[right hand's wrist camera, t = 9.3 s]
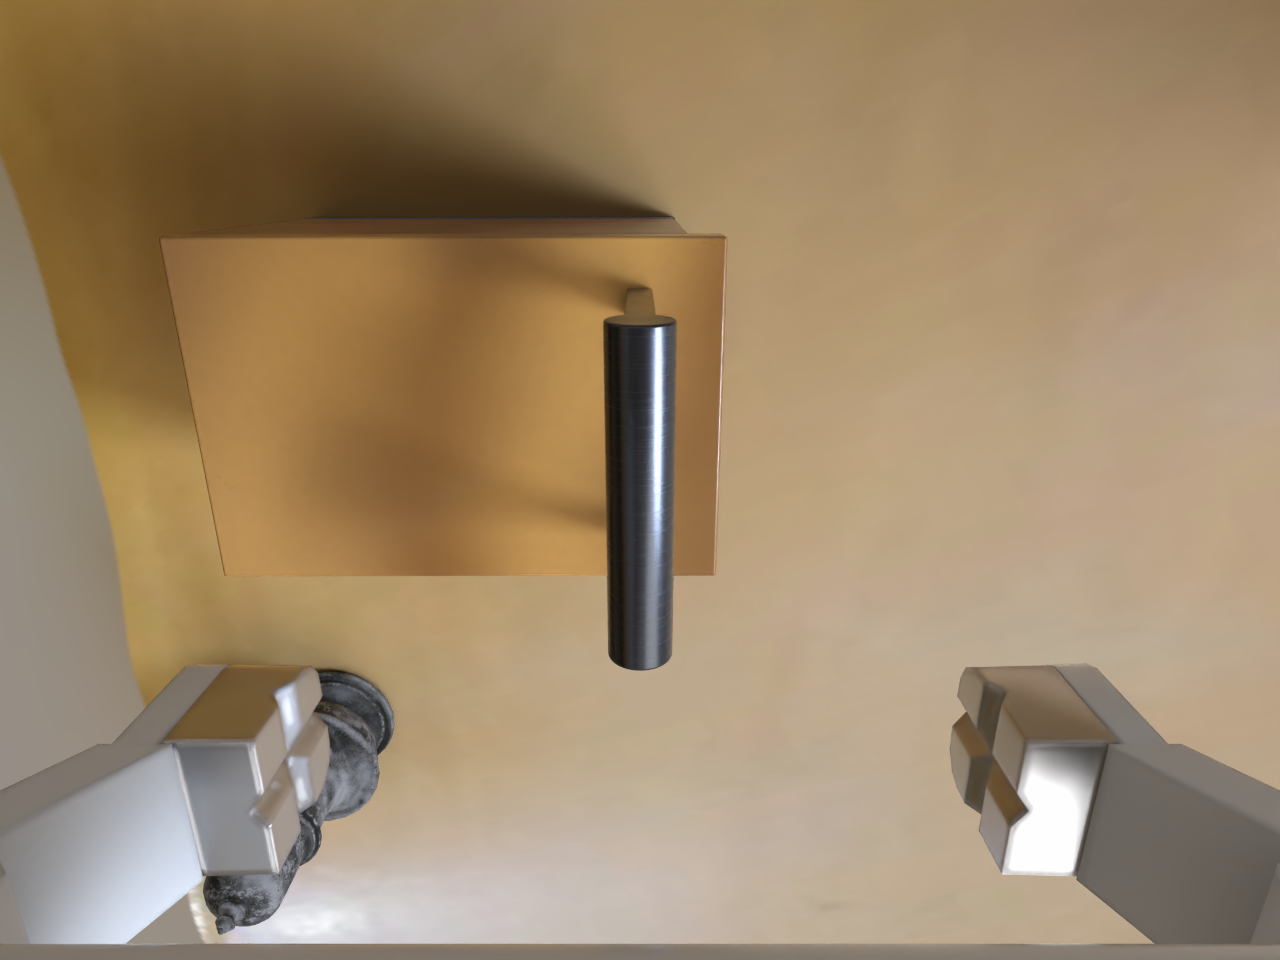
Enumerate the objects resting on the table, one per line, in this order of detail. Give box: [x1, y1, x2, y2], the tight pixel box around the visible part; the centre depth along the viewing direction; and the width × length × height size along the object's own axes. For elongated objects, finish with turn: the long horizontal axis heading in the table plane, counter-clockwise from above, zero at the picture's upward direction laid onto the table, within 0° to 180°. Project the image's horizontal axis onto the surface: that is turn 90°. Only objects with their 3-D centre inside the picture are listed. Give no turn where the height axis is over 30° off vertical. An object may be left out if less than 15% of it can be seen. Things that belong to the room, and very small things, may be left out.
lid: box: [159, 234, 728, 670], centre depth 20 cm, size 15×10×8 cm, turn 90°
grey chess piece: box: [203, 672, 394, 935], centre depth 34 cm, size 6×6×12 cm
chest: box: [185, 217, 687, 234], centre depth 29 cm, size 14×10×10 cm
